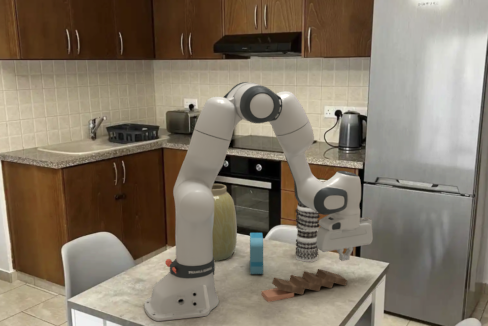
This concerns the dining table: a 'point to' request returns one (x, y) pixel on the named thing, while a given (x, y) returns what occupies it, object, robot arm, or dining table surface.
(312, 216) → the decorative candle
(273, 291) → the domino
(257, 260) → the data package
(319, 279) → the domino
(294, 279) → the domino
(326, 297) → the dining table surface
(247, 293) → the dining table surface
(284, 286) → the domino
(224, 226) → the vase
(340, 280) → the domino
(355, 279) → the dining table surface
